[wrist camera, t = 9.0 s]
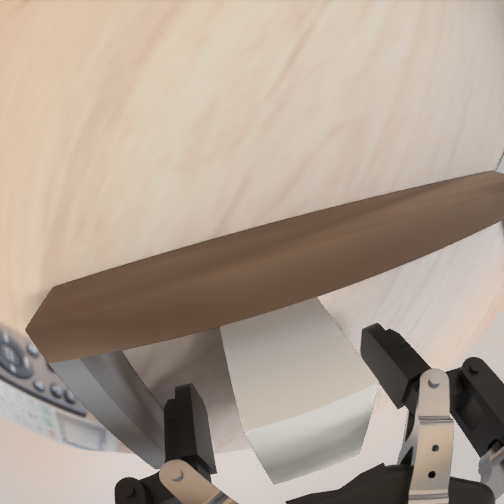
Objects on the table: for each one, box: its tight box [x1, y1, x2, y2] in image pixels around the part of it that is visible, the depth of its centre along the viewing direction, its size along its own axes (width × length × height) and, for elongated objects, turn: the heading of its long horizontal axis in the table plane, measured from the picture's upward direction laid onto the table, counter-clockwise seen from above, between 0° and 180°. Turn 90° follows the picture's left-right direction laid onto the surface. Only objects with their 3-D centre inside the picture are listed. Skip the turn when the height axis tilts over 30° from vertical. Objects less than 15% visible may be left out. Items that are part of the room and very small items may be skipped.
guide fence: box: [25, 171, 504, 469], centre depth 12 cm, size 11×25×3 cm, turn 102°
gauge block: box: [220, 297, 379, 484], centre depth 11 cm, size 6×4×6 cm, turn 12°
